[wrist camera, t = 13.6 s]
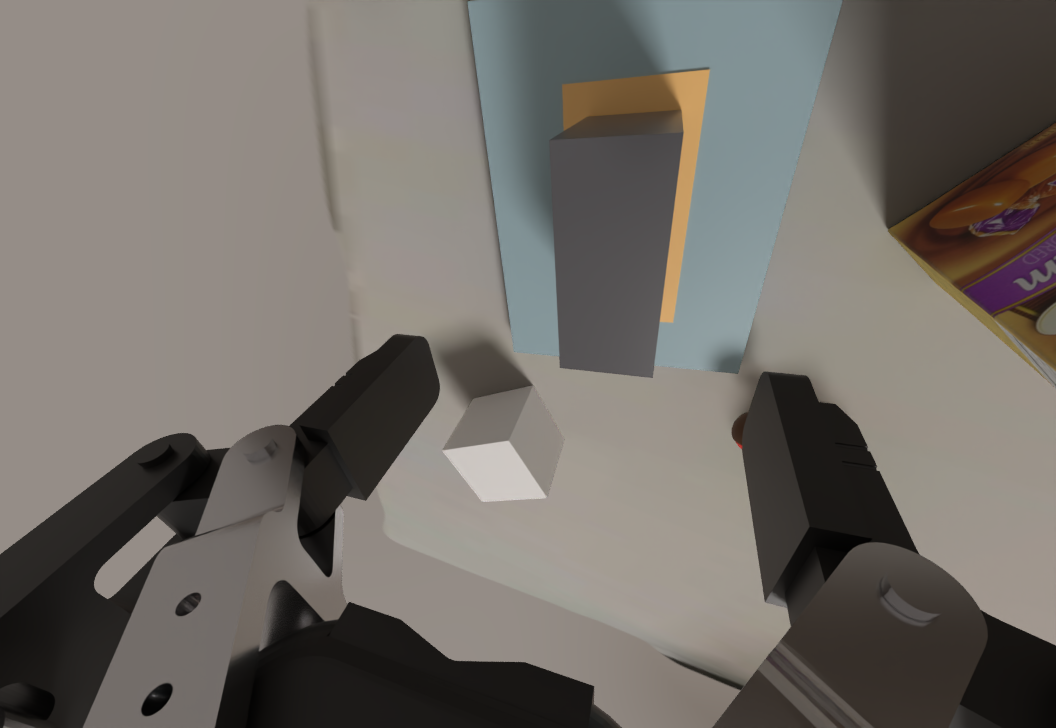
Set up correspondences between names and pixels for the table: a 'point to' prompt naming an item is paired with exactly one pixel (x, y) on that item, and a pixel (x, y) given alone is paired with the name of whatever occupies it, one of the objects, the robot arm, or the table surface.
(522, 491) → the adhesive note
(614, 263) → the block
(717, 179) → the pin board
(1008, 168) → the candy box
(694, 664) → the table surface
